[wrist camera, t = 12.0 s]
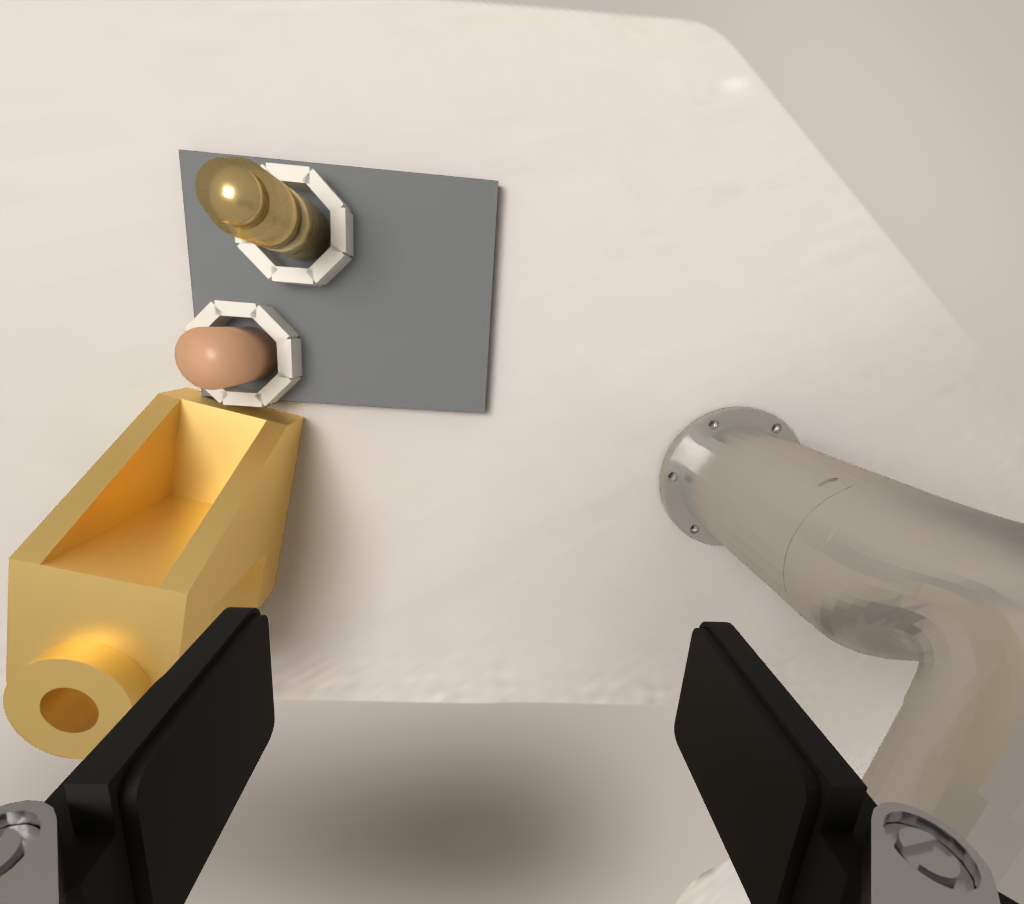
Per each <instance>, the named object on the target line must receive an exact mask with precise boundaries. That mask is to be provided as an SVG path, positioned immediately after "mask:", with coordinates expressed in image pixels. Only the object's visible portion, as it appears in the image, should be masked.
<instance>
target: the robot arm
mask: <svg viewBox="0 0 1024 904" xmlns="http://www.w3.org/2000/svg"><path fill="white" fill-rule="evenodd" d="M710 421H712V423H711V424H710V425H709V423H710ZM772 426H773V427H772ZM671 472H672V474H671V476H669V474H670V473H671ZM660 493H661V498H662V502H663V505H664V507H665V509H666V512H667V514H668V515H669V516H670V518H671V519H672V521H673V522H674V523H675V524H676V525H677V526H678V527H679V528H680V529H681V530H682V531H683V532H684V533H686V534H687V535H688V536H690V537H691V538H694V539H696V540H698V541H700V542H702V543H707V544H711V545H719V546H725V547H726V548H728V549H729V550H730V551H731V552H732V553H733V554H734V555H735V556H736V557H737V558H738V559H740V560H741V561H742V562H743V563H744V564H745V565H746V566H747V567H748V568H749V569H751V570H752V571H753V572H754V573H755V574H756V575H757V576H758V577H759V578H760V579H762V580H763V581H764V582H765V583H766V584H767V585H768V586H769V587H770V588H771V589H772V590H774V591H775V592H776V593H777V594H778V595H779V596H780V597H781V598H782V599H783V600H785V601H786V602H787V603H788V604H789V605H790V606H791V607H792V608H793V609H794V610H796V611H797V612H798V613H799V614H800V615H801V616H803V617H804V618H805V619H806V620H807V621H808V622H809V623H810V624H811V625H813V626H814V627H815V628H816V629H817V630H818V631H820V632H821V633H822V634H824V635H825V636H826V637H828V638H829V639H831V640H833V641H834V642H836V643H838V644H840V645H842V646H844V647H846V648H849V649H851V650H854V651H856V652H859V653H862V654H866V655H870V656H875V657H881V658H886V659H895V660H909V661H919V664H918V668H917V672H916V674H915V676H914V679H913V681H912V683H911V685H910V687H909V689H908V691H907V693H906V695H905V697H904V701H903V705H902V707H901V709H900V711H899V712H898V714H897V716H896V718H895V720H894V722H893V723H892V725H891V727H890V729H889V731H888V733H887V734H886V736H885V738H884V740H883V742H882V744H881V745H880V747H879V749H878V751H877V753H876V755H875V756H874V758H873V760H872V762H871V764H870V766H869V767H868V769H867V771H866V773H865V775H864V777H863V779H862V780H861V779H860V778H859V776H858V775H857V774H856V773H855V772H854V770H853V769H852V768H851V767H850V766H849V764H848V763H847V762H846V761H845V760H844V758H843V757H842V756H841V755H840V754H839V752H838V751H837V750H836V749H835V748H834V746H833V745H832V744H831V743H830V742H829V740H828V739H827V738H826V737H825V735H824V734H823V733H822V732H821V731H820V729H819V728H818V727H817V726H816V725H815V723H814V722H813V721H812V720H811V719H810V717H809V716H808V715H807V714H806V713H805V711H804V710H803V709H802V708H801V707H800V705H799V704H798V703H797V702H796V701H795V699H794V698H793V697H792V696H791V695H790V693H789V692H788V691H787V690H786V689H785V687H784V686H783V685H782V684H781V683H780V681H779V680H778V679H777V678H776V677H775V675H774V674H773V673H772V672H771V671H770V669H769V668H768V667H767V666H766V665H765V663H764V662H763V661H762V660H761V659H760V657H759V656H758V655H757V654H756V653H755V651H754V650H753V649H752V648H751V647H750V645H749V644H748V643H747V642H746V641H745V639H744V638H743V637H742V636H741V635H740V633H739V632H738V631H737V630H736V629H735V627H734V626H733V625H732V624H731V623H728V622H702V623H701V625H700V627H699V628H695V629H694V630H693V633H692V637H691V642H690V647H689V652H688V658H687V663H686V668H685V673H684V678H683V683H682V688H681V693H680V699H679V704H678V709H677V714H676V720H675V726H674V728H675V729H674V732H675V738H676V741H677V744H678V746H679V748H680V751H681V753H682V755H683V757H684V759H685V761H686V764H687V766H688V768H689V770H690V772H691V774H692V777H693V779H694V781H695V783H696V785H697V787H698V790H699V792H700V794H701V796H702V798H703V801H704V803H705V804H706V807H707V809H708V811H709V813H710V816H711V818H712V820H713V822H714V824H715V826H716V829H717V831H718V833H719V835H720V837H721V839H722V842H723V843H724V846H725V848H726V850H727V852H728V855H729V857H730V859H731V861H732V863H733V865H734V868H735V870H736V872H737V874H738V876H739V878H740V881H741V883H742V885H743V887H744V889H745V891H746V893H747V896H748V898H749V900H750V902H751V904H1024V524H1023V523H1019V522H1016V521H1012V520H1008V519H1005V518H1002V517H999V516H995V515H992V514H989V513H986V512H983V511H980V510H977V509H974V508H971V507H968V506H965V505H962V504H959V503H956V502H953V501H950V500H947V499H944V498H942V497H939V496H936V495H933V494H931V493H928V492H925V491H923V490H920V489H917V488H914V487H912V486H909V485H906V484H903V483H901V482H898V481H895V480H893V479H890V478H887V477H885V476H882V475H879V474H877V473H874V472H871V471H868V470H866V469H863V468H860V467H858V466H855V465H852V464H850V463H847V462H844V461H842V460H839V459H836V458H834V457H831V456H828V455H826V454H823V453H820V452H818V451H815V450H812V449H810V448H807V447H804V446H802V445H800V443H799V441H798V439H797V437H796V436H795V434H794V432H793V431H792V430H791V429H790V428H789V427H788V426H787V425H786V424H785V422H783V421H782V420H780V419H779V418H777V417H776V416H774V415H772V414H769V413H767V412H764V411H761V410H758V409H754V408H749V407H730V408H723V409H719V410H716V411H713V412H710V413H708V414H706V415H704V416H702V417H700V418H698V419H697V420H695V421H694V422H693V423H691V424H690V425H689V426H687V427H686V428H685V429H684V430H683V431H682V432H681V433H680V434H679V436H678V437H677V438H676V439H675V440H674V442H673V444H672V445H671V447H670V448H669V450H668V452H667V454H666V457H665V459H664V461H663V464H662V469H661V474H660ZM692 525H693V526H692ZM691 526H692V527H691ZM273 727H274V702H273V687H272V672H271V657H270V641H269V626H268V618H267V616H265V615H260V611H259V609H257V608H249V607H227V608H226V609H225V610H223V611H222V612H221V614H220V615H219V616H218V617H217V618H216V619H215V620H214V621H213V622H212V623H211V624H210V625H209V627H208V628H207V629H206V630H205V631H204V632H203V633H202V634H201V635H200V636H199V637H198V639H197V640H196V641H195V642H194V643H193V644H192V645H191V646H190V647H189V648H188V649H187V650H186V652H185V653H184V654H183V655H182V656H181V657H180V658H179V659H178V660H177V661H176V662H175V664H174V665H173V666H172V667H171V668H170V669H169V670H168V671H167V672H166V673H165V674H164V675H163V676H162V677H161V678H160V679H158V680H157V681H156V682H155V683H154V684H153V685H152V686H151V687H150V688H149V690H148V691H147V692H146V693H145V694H144V695H143V696H142V697H141V698H140V699H139V700H138V701H137V703H136V704H135V705H134V706H133V707H132V708H131V709H130V710H129V711H128V712H127V713H126V714H125V715H124V717H123V718H122V719H121V720H120V721H119V722H118V723H117V724H116V725H115V726H114V727H113V728H112V729H111V731H110V732H109V733H108V734H107V735H106V736H105V737H104V738H103V739H102V740H101V741H100V742H99V744H98V745H97V746H96V747H95V748H94V749H93V750H92V751H91V752H90V753H89V754H88V755H87V756H86V758H85V759H84V760H83V761H82V762H81V763H80V764H79V765H78V766H77V767H76V768H75V769H74V771H73V772H72V773H71V774H70V775H69V776H68V777H67V778H66V779H65V780H64V781H63V782H62V784H61V785H60V786H59V787H58V788H57V789H56V790H55V791H54V792H53V793H52V794H51V795H50V797H49V798H48V799H47V800H46V801H45V802H42V801H30V800H27V801H21V802H15V803H10V804H6V805H3V806H0V904H184V903H185V901H186V899H187V897H188V895H189V893H190V891H191V889H192V887H193V885H194V884H195V882H196V880H197V878H198V876H199V874H200V872H201V870H202V868H203V866H204V864H205V863H206V861H207V858H208V857H209V855H210V853H211V851H212V849H213V847H214V845H215V843H216V841H217V839H218V838H219V836H220V834H221V831H222V830H223V828H224V826H225V824H226V822H227V820H228V818H229V816H230V814H231V813H232V810H233V809H234V807H235V805H236V803H237V801H238V799H239V797H240V795H241V793H242V791H243V790H244V787H245V786H246V784H247V782H248V780H249V778H250V776H251V774H252V772H253V770H254V768H255V767H256V764H257V763H258V761H259V759H260V757H261V755H262V753H263V751H264V749H265V747H266V745H267V744H268V742H269V740H270V737H271V734H272V732H273Z"/></svg>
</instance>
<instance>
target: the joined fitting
mask: <svg viewBox="0 0 1024 904" xmlns="http://www.w3.org/2000/svg"><path fill="white" fill-rule="evenodd" d="M234 316H235V317H249V318H253V319H254V320H255V321H256V322H257V323H258V324H259V325H260V326H261V327H262V328H263V329H264V330H265V331H266V332H267V333H268V334H269V335H270V336H271V337H272V338H273V339H274V340H275V341H276V342H277V345H276V343H275V342H274V340H273V339H272V338H271V337H270V336H269V335H268V334H267V333H266V332H264V331H263V330H261V329H258V328H255V327H224V326H225V325H226V324H227V323H228V322H229V321H230V320H231V319H232V318H233V317H234ZM185 329H186V330H187V331H184V334H182V335H181V337H180V338H179V340H178V341H177V344H176V347H175V360H176V364H177V366H178V368H179V370H180V372H181V373H182V375H183V376H184V377H185V378H186V379H187V380H188V381H189V382H190V383H192V384H193V385H195V386H197V387H200V388H202V389H205V390H206V391H207V392H208V393H209V394H210V395H211V396H213V397H214V398H215V399H216V400H217V401H218V402H219V403H222V402H223V405H237V406H254V407H263V406H266V405H269V404H272V403H275V402H277V401H278V400H279V399H280V398H281V397H282V396H283V395H284V394H285V393H286V392H287V391H288V390H290V389H291V388H292V387H293V386H294V385H295V384H296V383H297V382H298V381H299V380H300V379H301V377H300V376H302V350H301V338H297V337H299V336H300V335H299V334H298V333H297V332H296V331H295V330H294V329H293V328H292V327H291V326H290V325H289V324H288V323H287V322H286V321H285V320H284V319H283V318H282V317H281V316H280V315H279V314H278V313H277V311H276V310H275V309H274V308H273V307H272V306H268V305H266V304H257V303H244V302H231V301H218V300H214V302H212V301H211V302H210V303H209V304H208V305H207V306H206V307H205V308H204V309H203V310H202V311H201V312H200V313H199V314H198V315H197V316H196V317H195V318H194V319H193V320H192V321H191V322H190V323H189V324H188V325H187V326H186V327H185ZM277 366H278V374H277V375H276V376H275V377H274V378H273V379H272V380H271V381H270V382H269V383H268V384H267V385H266V386H264V387H263V388H262V389H247V388H239V387H238V386H237V385H239V384H244V383H248V382H252V381H256V380H261V379H264V378H267V377H268V376H270V375H271V374H272V373H273V372H274V371H275V369H276V368H277Z"/></svg>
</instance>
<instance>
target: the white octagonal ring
mask: <svg viewBox="0 0 1024 904" xmlns="http://www.w3.org/2000/svg"><path fill="white" fill-rule="evenodd" d="M261 167H262V168H264V169H265V170H266V171H268V172H269V173H270V174H272V175H273V176H274V177H276V178H277V179H279V180H280V181H281V182H283V183H284V184H285V185H287V186H288V187H289V188H291V189H297V190H308V191H313V192H314V193H315V194H316V195H317V197H318V198H319V199H320V200H321V201H322V202H323V203H324V205H325V206H326V207H327V208H328V209H329V210H330V222H331V247H330V248H329V249H328V250H327V251H326V252H325V253H324V254H323V255H322V256H321V257H320V258H319V259H318V260H317V261H316V262H315V263H314V264H313V265H312V266H311V267H310V268H309V269H306V268H294V267H284V266H283V265H282V264H281V263H280V261H279V260H278V259H277V258H276V257H275V256H274V255H273V254H272V253H271V252H270V251H269V250H268V249H266V248H264V247H261V246H258V245H255V244H253V243H250V242H247V241H245V240H242V239H239V238H237V237H235V243H238V244H239V245H238V246H237V247H238V248H239V249H240V250H241V251H242V252H243V253H244V254H245V255H246V256H247V257H248V258H249V259H250V260H251V261H252V262H253V263H254V265H255V266H256V267H257V268H258V269H259V270H260V271H261V272H262V273H263V274H264V275H265V276H266V277H267V278H268V279H270V280H272V281H275V282H279V283H285V284H297V285H310V286H322V285H326V284H327V283H329V282H330V281H331V280H332V279H333V278H334V277H335V276H336V275H337V274H338V273H339V272H340V271H341V270H342V269H343V268H344V267H345V266H346V265H347V264H348V263H349V262H350V261H351V260H352V258H351V257H350V256H354V250H353V214H352V213H351V210H350V208H349V207H348V206H347V205H346V204H345V203H344V202H343V200H342V199H341V198H340V197H339V196H338V195H337V194H336V192H335V191H334V190H333V189H332V188H331V187H330V186H329V184H328V183H327V182H326V181H325V180H324V179H323V178H322V177H321V176H320V175H319V174H318V173H317V172H316V171H315V170H314V169H311V168H310V167H307V166H297V165H287V164H277V163H266V166H265V165H263V164H261Z"/></svg>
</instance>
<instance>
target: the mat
mask: <svg viewBox="0 0 1024 904" xmlns="http://www.w3.org/2000/svg"><path fill="white" fill-rule="evenodd" d="M219 157H221V158H227V157H242V158H246V159H249V160H251V161H253V162H255V163H256V164H258V165H259V166H261V164H263V165H265V166H266V163H277V164H287V165H297V166H307V167H310V168H311V169H314V170H315V171H316V172H317V173H318V174H319V175H320V176H321V177H322V178H323V179H324V180H325V181H326V182H327V183H328V184H329V186H330V187H331V188H332V189H333V190H334V191H335V192H336V194H337V195H338V196H339V197H340V198H341V199H342V200H343V202H344V203H345V204H346V205H347V206H348V207H349V208H350V210H351V213H352V214H353V250H354V256H350V257H351V258H352V260H351V261H350V262H349V263H348V264H347V265H346V266H345V267H344V268H343V269H342V270H341V271H340V272H339V273H338V274H337V275H336V276H335V277H334V278H333V279H332V280H331V281H330V282H329V283H327V284H326V285H322V286H310V285H297V284H285V283H279V282H275V281H272V280H270V279H268V278H267V277H266V276H265V275H264V274H263V273H262V272H261V271H260V270H259V269H258V268H257V267H256V266H255V265H254V263H253V262H252V261H251V260H250V259H249V258H248V257H247V256H246V255H245V254H244V253H243V252H242V251H241V250H240V249H239V248H238V247H237V246H238V245H239V244H238V243H235V237H234V236H231V235H229V234H227V233H226V232H224V231H222V230H221V229H220V228H219V227H218V226H217V225H216V224H215V223H214V222H213V221H212V220H211V218H210V217H209V215H208V213H207V212H206V211H205V209H204V208H203V207H202V205H201V204H200V202H199V200H198V197H197V194H196V189H195V181H196V176H197V173H198V171H199V169H200V168H201V166H202V165H203V164H204V163H206V162H207V161H209V160H211V159H214V158H219ZM179 158H180V169H181V180H182V190H183V201H184V212H185V222H186V233H187V244H188V254H189V265H190V276H191V287H192V297H193V308H194V318H195V317H196V316H197V315H198V314H199V313H200V312H201V311H202V310H203V309H204V308H205V307H206V306H207V305H208V304H209V303H210V302H211V301H212V302H214V300H218V301H231V302H244V303H257V304H266V305H268V306H272V307H273V308H274V309H275V310H276V311H277V313H278V314H279V315H280V316H281V317H282V318H283V319H284V320H285V321H286V322H287V323H288V324H289V325H290V326H291V327H292V328H293V329H294V330H295V331H296V332H297V333H298V334H299V335H300V336H299V337H297V338H301V350H302V376H300V377H301V379H300V380H299V381H298V382H297V383H296V384H295V385H294V386H293V387H292V388H291V389H290V390H288V391H287V392H286V393H285V394H284V395H283V396H282V397H281V398H280V399H279V400H278V401H293V402H309V403H325V404H341V405H357V406H373V407H389V408H405V409H422V410H438V411H454V412H470V413H485V399H486V382H487V366H488V349H489V332H490V315H491V298H492V281H493V264H494V247H495V230H496V213H497V196H498V181H494V180H484V179H474V178H463V177H453V176H443V175H433V174H423V173H413V172H402V171H392V170H382V169H372V168H362V167H352V166H341V165H331V164H321V163H311V162H301V161H291V160H280V159H270V158H260V157H250V156H240V155H230V154H219V153H209V152H199V151H189V150H179ZM292 190H294V191H295V192H296V193H298V194H299V195H300V196H302V197H303V198H304V199H306V200H307V201H309V202H310V203H311V204H313V205H314V206H315V207H317V208H318V209H319V210H320V211H321V212H322V213H323V214H324V216H325V217H326V219H327V221H328V224H329V227H330V242H329V245H328V248H327V249H326V251H327V250H328V249H329V248H330V247H331V222H330V210H329V209H328V208H327V207H326V206H325V205H324V203H323V202H322V201H321V200H320V199H319V198H318V197H317V195H316V194H315V193H314V192H313V191H308V190H297V189H292ZM268 250H269V249H268ZM269 251H270V252H271V253H272V254H273V255H274V256H275V257H276V258H277V259H278V260H279V261H280V263H281V264H282V265H283V266H284V267H294V268H306V269H309V268H310V267H311V266H312V265H313V264H314V263H315V262H316V261H317V260H318V259H319V258H320V257H321V256H322V255H323V254H324V253H325V252H326V251H325V252H324V253H323V254H322V255H321V256H320V257H318V258H317V259H314V260H311V261H300V260H296V259H293V258H291V257H288V256H285V255H282V254H280V253H277V252H274V251H272V250H269ZM224 327H255V328H258V329H261V330H263V331H264V332H266V331H265V330H264V329H263V328H262V327H261V326H260V325H259V324H258V323H257V322H256V321H255V320H254V319H253V318H249V317H235V316H234V317H233V318H232V319H231V320H230V321H229V322H228V323H227V324H226V325H225V326H224ZM266 333H267V332H266ZM267 334H268V333H267ZM268 335H269V334H268ZM269 336H270V335H269ZM270 337H271V336H270ZM271 338H272V337H271ZM272 339H273V338H272ZM273 340H274V339H273ZM274 342H275V343H276V345H277V342H276V341H275V340H274ZM277 374H278V366H277V368H276V369H275V371H274V372H273V373H272V374H271V375H270V376H268V377H267V378H264V379H261V380H256V381H252V382H248V383H244V384H239V385H237V386H238V387H239V388H247V389H262V388H263V387H264V386H266V385H267V384H268V383H269V382H270V381H271V380H272V379H273V378H274V377H275V376H276V375H277ZM201 393H202V396H211V395H210V394H209V393H208V392H207V391H206V390H205V389H202V388H201ZM212 397H213V396H212Z"/></svg>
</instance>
